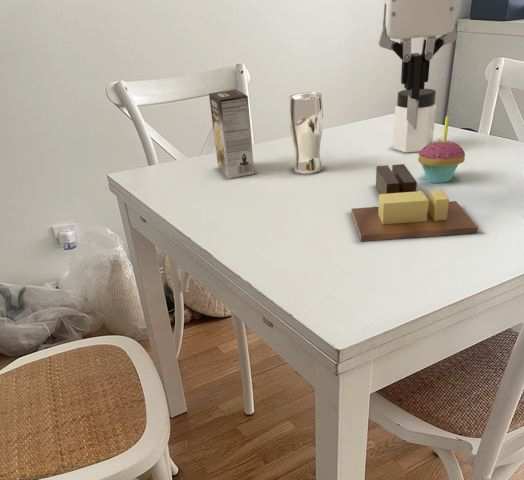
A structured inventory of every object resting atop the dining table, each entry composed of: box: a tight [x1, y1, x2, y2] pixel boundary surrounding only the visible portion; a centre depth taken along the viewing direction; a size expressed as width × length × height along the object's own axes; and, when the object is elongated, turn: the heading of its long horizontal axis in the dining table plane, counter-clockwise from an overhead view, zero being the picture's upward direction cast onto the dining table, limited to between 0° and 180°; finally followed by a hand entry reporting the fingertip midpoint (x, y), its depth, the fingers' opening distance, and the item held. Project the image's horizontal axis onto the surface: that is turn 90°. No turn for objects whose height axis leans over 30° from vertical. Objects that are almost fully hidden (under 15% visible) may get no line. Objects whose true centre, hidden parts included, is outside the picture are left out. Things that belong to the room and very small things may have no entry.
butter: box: [377, 190, 429, 224], centre depth 88 cm, size 7×4×4 cm, turn 90°
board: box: [350, 200, 479, 242], centre depth 89 cm, size 18×12×1 cm, turn 89°
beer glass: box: [288, 91, 324, 175], centre depth 114 cm, size 7×7×15 cm
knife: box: [406, 52, 422, 129], centre depth 86 cm, size 1×7×10 cm, turn 178°
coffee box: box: [208, 89, 255, 180], centre depth 117 cm, size 9×6×16 cm
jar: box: [392, 88, 437, 154], centre depth 122 cm, size 9×8×12 cm
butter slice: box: [428, 189, 450, 221], centre depth 87 cm, size 2×4×4 cm, turn 179°
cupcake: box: [417, 111, 466, 184], centre depth 102 cm, size 9×8×12 cm
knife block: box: [375, 163, 418, 195], centre depth 99 cm, size 5×11×4 cm, turn 179°
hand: (413, 87), depth 86 cm, fingers closed on knife, 1 cm apart
